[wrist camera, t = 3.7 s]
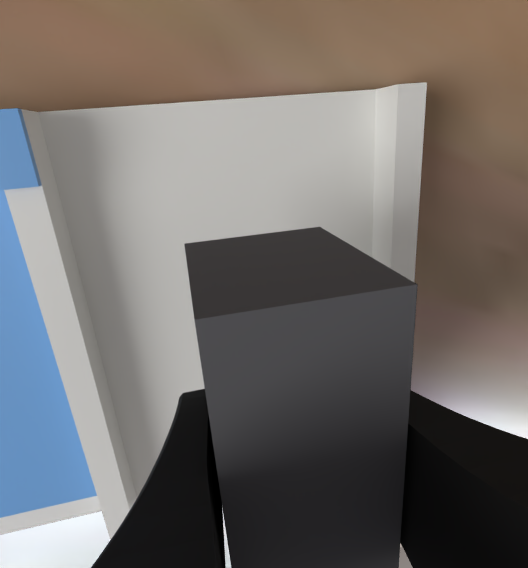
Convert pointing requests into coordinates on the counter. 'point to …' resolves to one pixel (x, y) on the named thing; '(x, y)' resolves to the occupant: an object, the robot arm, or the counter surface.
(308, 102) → the tray
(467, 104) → the counter surface
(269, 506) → the dark gray rectangular block
